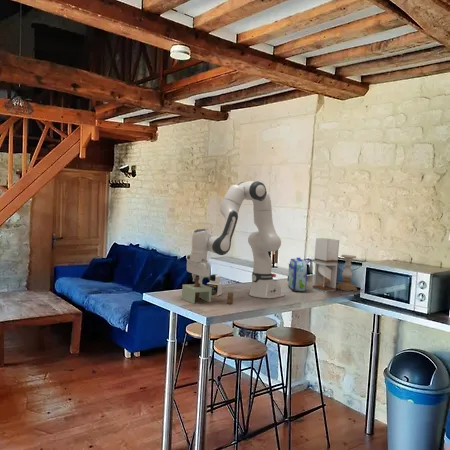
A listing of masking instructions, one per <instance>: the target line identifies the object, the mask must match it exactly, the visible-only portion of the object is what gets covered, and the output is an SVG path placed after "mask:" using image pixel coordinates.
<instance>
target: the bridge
mask: <svg viewBox="0 0 450 450" xmlns="http://www.w3.org/2000/svg"><path fill="white" fill-rule="evenodd" d="M181 292H182V293H181V299H182V300H183V301H186V302H188V303H190V304H193V305H194V304H195V302H196V301H195V292H200V293H199V299H200V298H201V299H200V300H203V301H204V302H207V303H211V302H212V295H211V294H212V288H211V287H209V286H207V284H206V285H205V284H203V283H202V284H200V287H195V283H189V284H182V290H181Z"/></svg>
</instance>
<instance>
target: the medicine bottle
mask: <svg viewBox="0 0 450 450" xmlns="http://www.w3.org/2000/svg"><path fill="white" fill-rule="evenodd" d="M206 286H209V287H211V288H212V294H211V297H218V296H221V295H222V290H223V289H222V288H223V283H222V282H221V275H219V274H213V273H212V274H210V276H209V282H207V283H206Z"/></svg>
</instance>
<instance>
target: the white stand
mask: <svg viewBox="0 0 450 450" xmlns="http://www.w3.org/2000/svg"><path fill="white" fill-rule="evenodd" d="M339 247H340V239H335V238H323V237H321V238H320V237H319V238H317V237H316V238H315V246H314V248H315V249H314V259H313V261H314V262H313V263H314V279H313V285H312V287H311V288H312V289H313V290H315V291H319V292H322V291H323V293H326V292H325V291H331V292H336V289H337V288H336V285H337V277H338V276H337V274H338V262H339V261H338V260H339Z"/></svg>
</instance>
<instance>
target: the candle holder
mask: <svg viewBox="0 0 450 450" xmlns="http://www.w3.org/2000/svg"><path fill="white" fill-rule="evenodd" d="M340 256H341V258H344V260H345V263H344V264H343V265H344V267H345V268H344V270H343V272H342V273H341V276H342V282H338V283H336V289H337V288H338V289H337V290H339V289H341V290H340V291H342V290H357V291H358V288H357V287H356V285H354V284H353V283H352V279H351V278H353V272H352V270H351V267H353V266H352V265H353V264H352V260H353V259H356V258H357V256H356V255H352V254H341V255H340Z"/></svg>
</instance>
